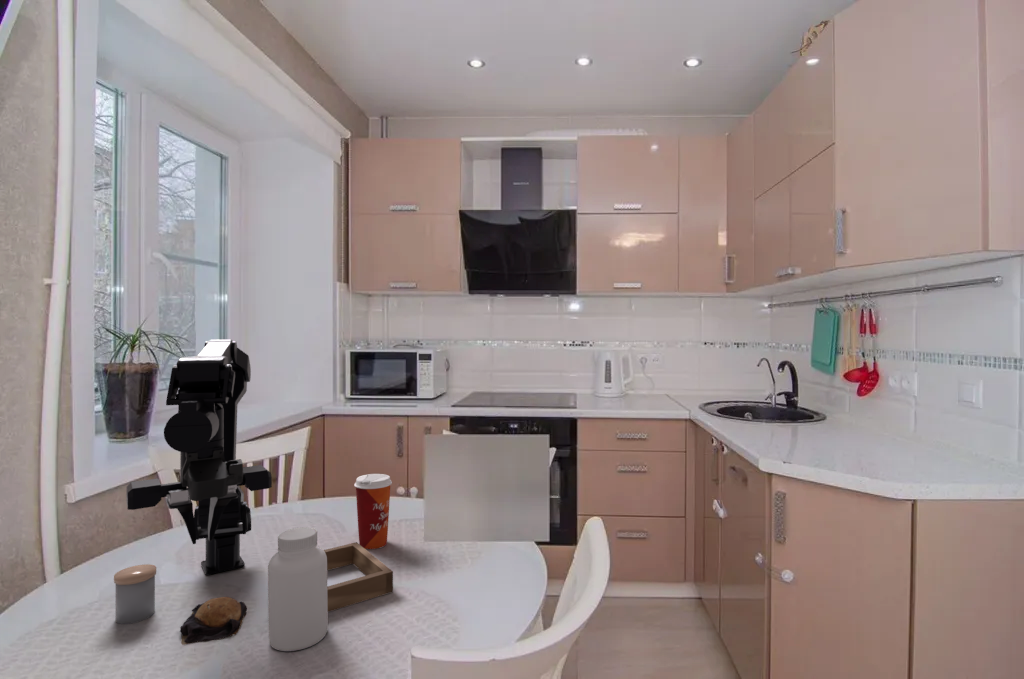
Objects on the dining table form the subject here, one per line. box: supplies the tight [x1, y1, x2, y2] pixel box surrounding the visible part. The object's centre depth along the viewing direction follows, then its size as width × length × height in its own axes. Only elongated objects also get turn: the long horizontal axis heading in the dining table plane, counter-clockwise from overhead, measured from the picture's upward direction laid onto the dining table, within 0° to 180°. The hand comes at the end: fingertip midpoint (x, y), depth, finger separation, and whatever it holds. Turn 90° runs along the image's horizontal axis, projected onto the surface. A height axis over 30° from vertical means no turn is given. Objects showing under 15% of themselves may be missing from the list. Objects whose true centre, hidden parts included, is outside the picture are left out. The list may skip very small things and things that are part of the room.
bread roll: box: [179, 596, 248, 646], centre depth 81 cm, size 11×8×4 cm
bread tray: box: [323, 542, 394, 613], centre depth 92 cm, size 16×15×4 cm
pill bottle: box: [267, 527, 329, 652], centre depth 77 cm, size 8×8×15 cm
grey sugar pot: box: [113, 563, 157, 625], centre depth 83 cm, size 5×5×7 cm
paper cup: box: [354, 473, 393, 550], centre depth 112 cm, size 8×8×14 cm
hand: (202, 541), depth 81 cm, fingers closed
